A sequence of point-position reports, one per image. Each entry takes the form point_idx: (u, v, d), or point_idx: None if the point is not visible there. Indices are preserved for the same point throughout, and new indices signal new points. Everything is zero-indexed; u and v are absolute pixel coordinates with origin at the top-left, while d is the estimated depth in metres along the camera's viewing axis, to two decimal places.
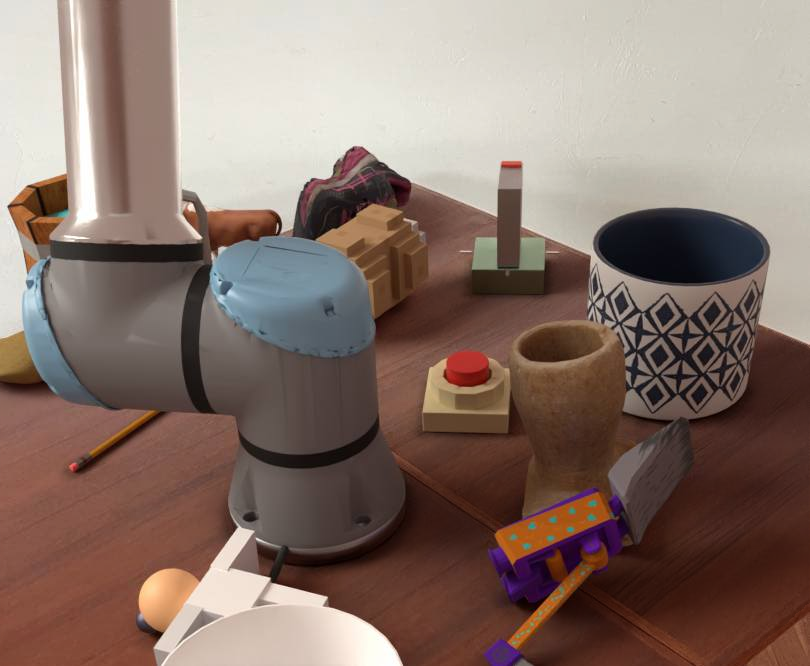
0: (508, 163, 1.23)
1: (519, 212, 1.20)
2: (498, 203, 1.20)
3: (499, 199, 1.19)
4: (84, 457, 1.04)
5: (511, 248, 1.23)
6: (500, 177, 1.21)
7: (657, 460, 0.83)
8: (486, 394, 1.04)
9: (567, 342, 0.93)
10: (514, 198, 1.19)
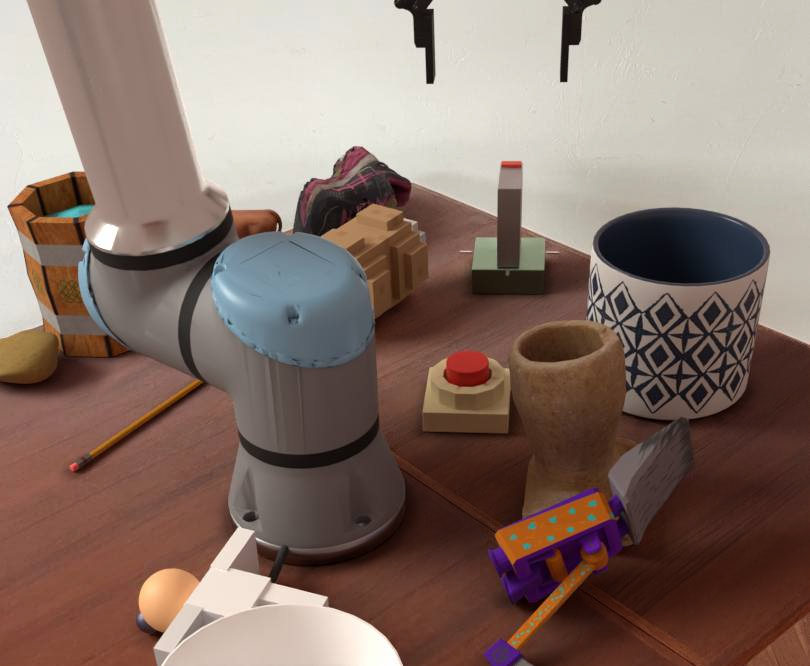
0: (508, 163, 1.23)
1: (519, 212, 1.20)
2: (498, 203, 1.20)
3: (499, 199, 1.19)
4: (85, 457, 1.04)
5: (511, 248, 1.23)
6: (500, 177, 1.21)
7: (657, 460, 0.83)
8: (486, 394, 1.04)
9: (567, 342, 0.93)
10: (514, 198, 1.19)
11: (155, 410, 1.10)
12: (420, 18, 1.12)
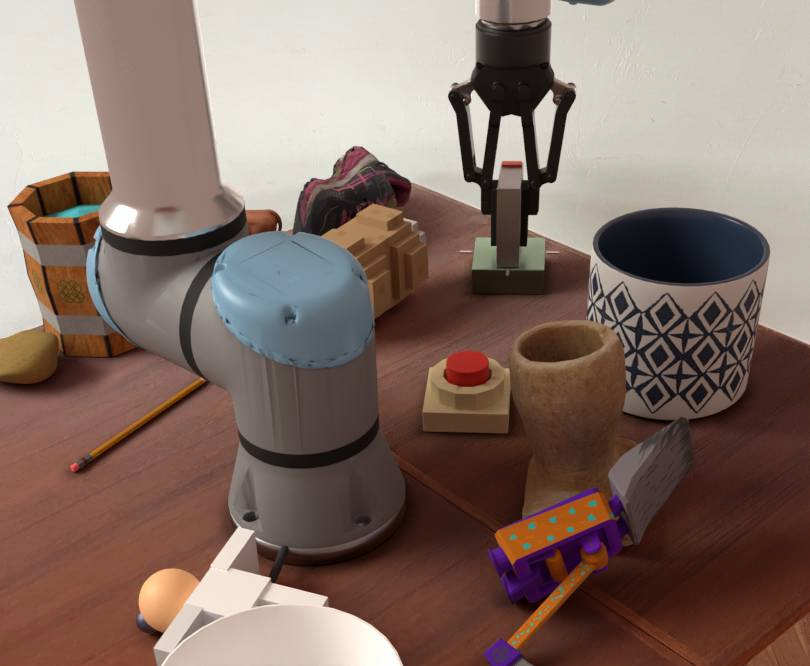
0: (508, 163, 1.23)
1: (518, 212, 1.20)
2: (497, 203, 1.20)
3: (498, 199, 1.19)
4: (85, 458, 1.04)
5: (510, 248, 1.23)
6: (500, 177, 1.21)
7: (657, 460, 0.83)
8: (486, 394, 1.04)
9: (567, 342, 0.93)
10: (514, 198, 1.19)
11: (155, 410, 1.10)
12: (487, 190, 1.22)
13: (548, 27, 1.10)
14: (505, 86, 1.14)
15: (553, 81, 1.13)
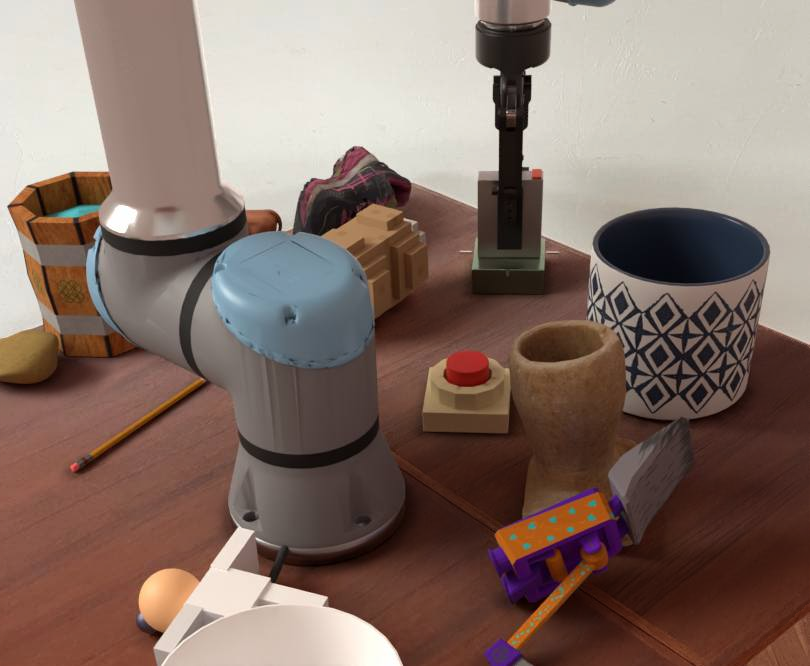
0: (535, 171, 1.21)
1: None
2: None
3: None
4: (85, 458, 1.04)
5: None
6: None
7: (657, 460, 0.83)
8: (486, 394, 1.04)
9: (567, 342, 0.93)
10: None
11: (156, 410, 1.10)
12: None
13: (501, 36, 1.09)
14: (500, 81, 1.15)
15: (504, 93, 1.11)
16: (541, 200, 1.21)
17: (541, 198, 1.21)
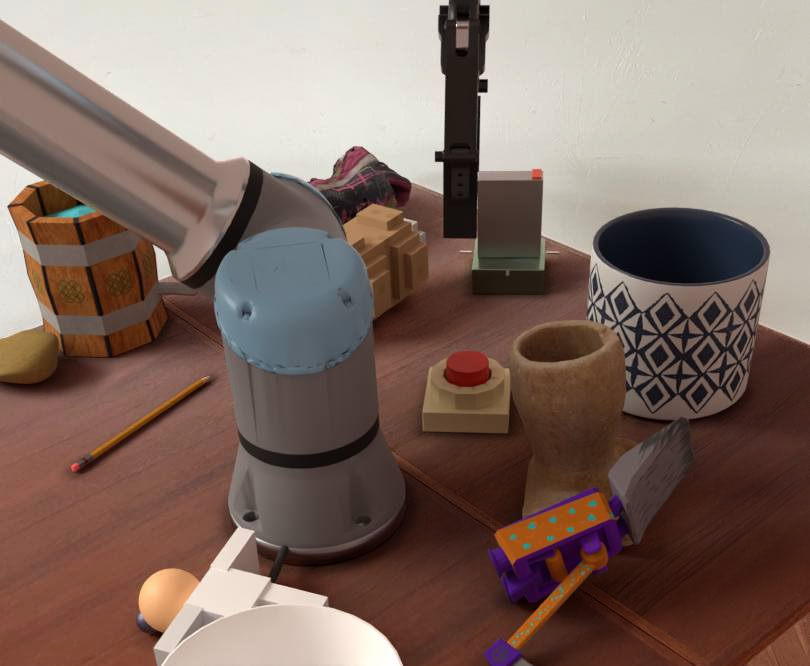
0: (535, 171, 1.21)
1: None
2: None
3: None
4: (86, 458, 1.04)
5: None
6: (505, 171, 1.22)
7: (657, 460, 0.83)
8: (486, 394, 1.04)
9: (567, 342, 0.93)
10: None
11: (156, 410, 1.10)
12: None
13: None
14: None
15: None
16: (541, 200, 1.21)
17: (541, 198, 1.21)
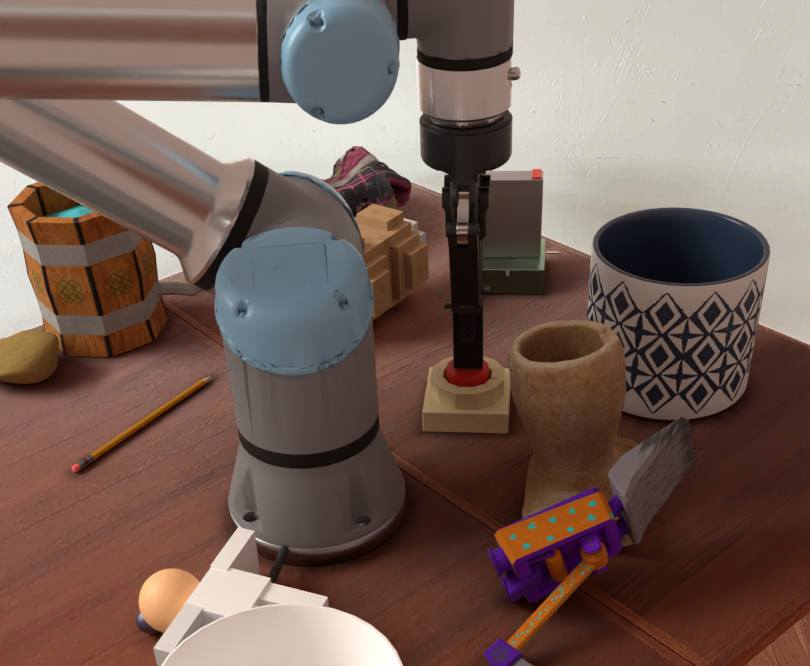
0: (535, 171, 1.21)
1: None
2: None
3: None
4: (86, 458, 1.04)
5: None
6: (505, 171, 1.22)
7: (657, 460, 0.83)
8: (486, 394, 1.04)
9: (567, 342, 0.93)
10: None
11: (157, 411, 1.10)
12: None
13: (449, 134, 0.88)
14: None
15: (454, 202, 0.91)
16: (541, 200, 1.21)
17: (541, 198, 1.21)
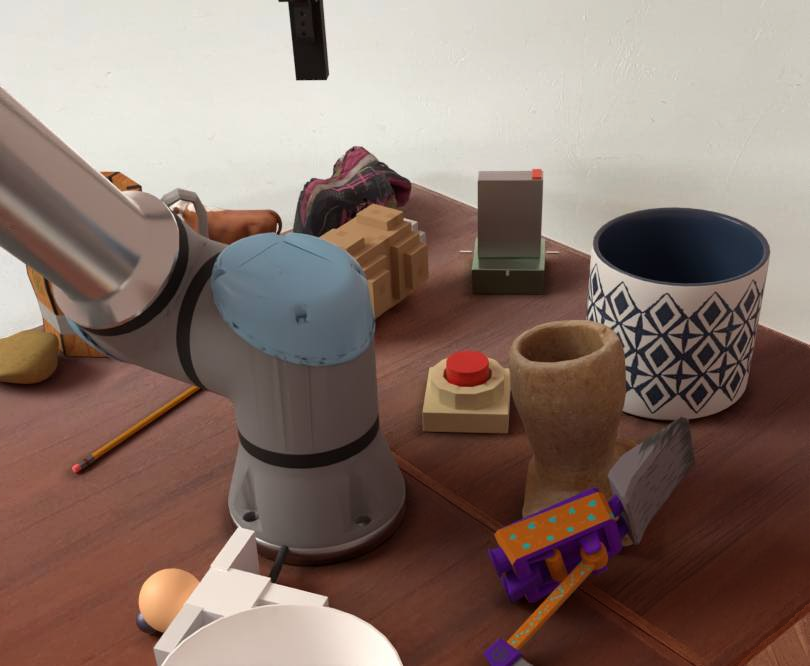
0: (535, 171, 1.21)
1: None
2: None
3: None
4: (87, 459, 1.04)
5: None
6: (505, 171, 1.22)
7: (657, 460, 0.83)
8: (486, 394, 1.04)
9: (567, 342, 0.93)
10: None
11: (158, 411, 1.10)
12: None
13: None
14: None
15: None
16: (541, 200, 1.21)
17: (541, 198, 1.21)
